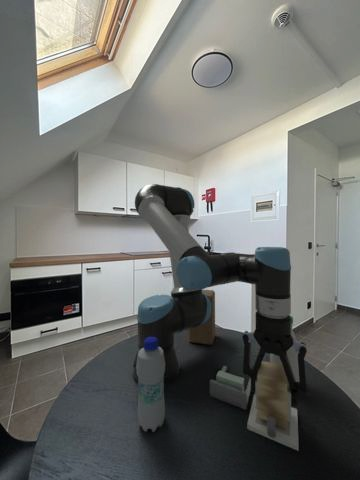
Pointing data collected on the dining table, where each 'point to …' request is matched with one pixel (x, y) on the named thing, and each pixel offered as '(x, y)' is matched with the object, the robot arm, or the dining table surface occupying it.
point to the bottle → (151, 385)
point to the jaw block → (272, 392)
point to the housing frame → (230, 393)
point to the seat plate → (279, 435)
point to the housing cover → (230, 380)
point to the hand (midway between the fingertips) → (273, 410)
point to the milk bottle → (289, 356)
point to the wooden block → (207, 330)
